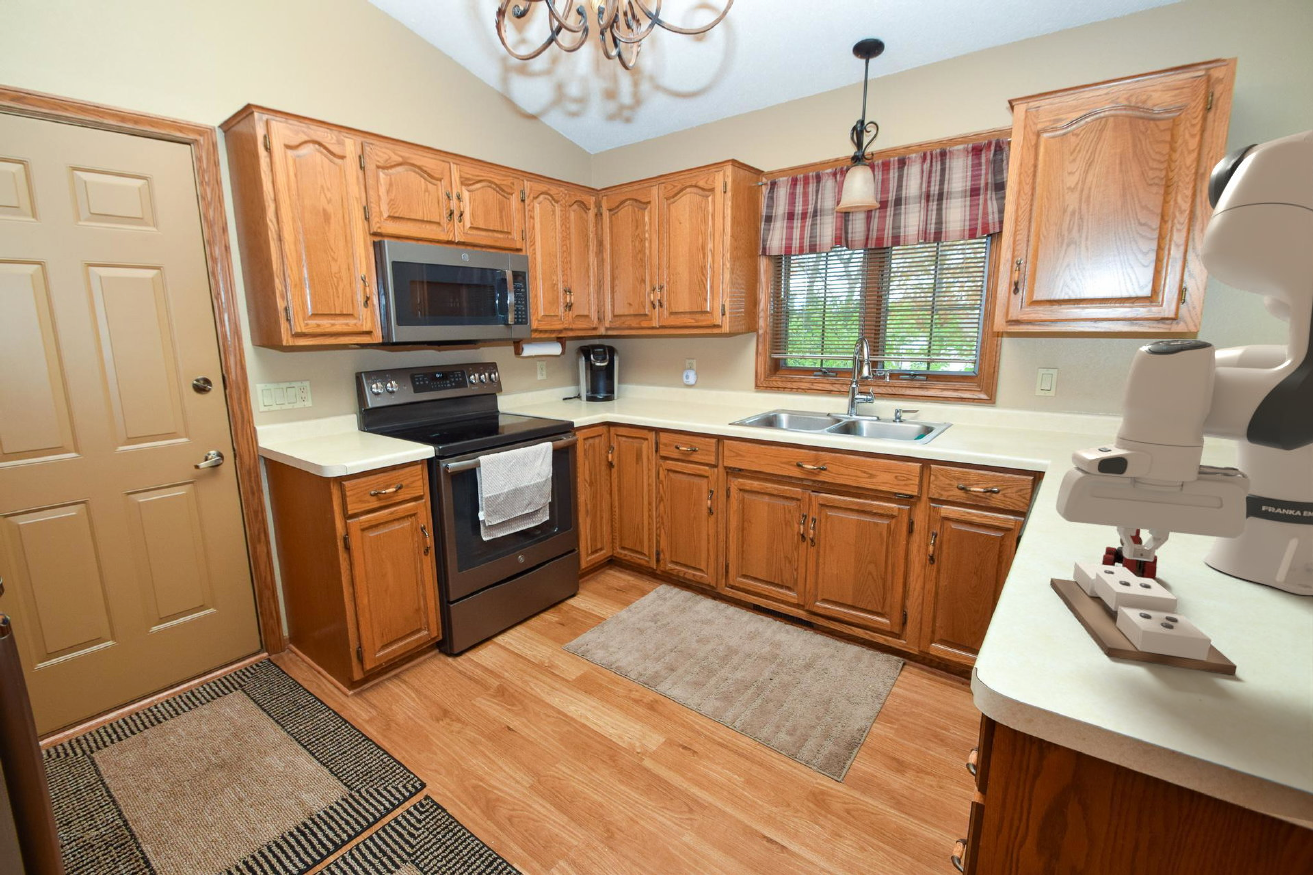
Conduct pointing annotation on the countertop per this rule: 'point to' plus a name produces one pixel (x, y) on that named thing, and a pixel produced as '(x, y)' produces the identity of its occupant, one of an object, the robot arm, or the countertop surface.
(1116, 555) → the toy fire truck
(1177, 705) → the countertop surface
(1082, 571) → the one-pip tile
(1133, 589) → the two-pip tile
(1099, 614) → the walnut board
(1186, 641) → the three-pip tile
